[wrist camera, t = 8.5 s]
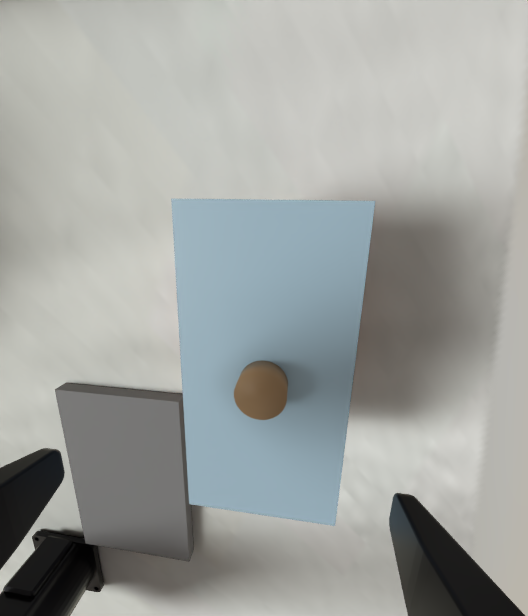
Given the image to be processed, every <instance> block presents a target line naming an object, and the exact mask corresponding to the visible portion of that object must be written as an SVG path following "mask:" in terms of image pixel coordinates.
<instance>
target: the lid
mask: <svg viewBox="0 0 528 616" xmlns="http://www.w3.org/2000/svg"><path fill="white" fill-rule="evenodd" d="M171 200H172V217H173V234H174V251H175V269H176V286H177V303H178V320H179V338H180V355H181V372H182V389H183V407H184V424H185V441H186V458H187V476H188V493H189V504H192V505H199V506H206V507H212V508H219V509H226V510H232V511H239V512H246V513H252V514H259V515H265V516H272V517H279V518H285V519H292V520H299V521H305V522H312V523H319V524H325V525H332V526H335V522H336V514H337V506H338V498H339V489H340V481H341V473H342V465H343V457H344V449H345V441H346V433H347V425H348V417H349V409H350V401H351V393H352V385H353V377H354V368H355V360H356V352H357V344H358V336H359V328H360V320H361V312H362V304H363V296H364V288H365V280H366V272H367V264H368V256H369V248H370V239H371V231H372V223H373V215H374V207H375V201H333V200H243V199H171Z"/></svg>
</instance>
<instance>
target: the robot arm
mask: <svg viewBox="0 0 528 616" xmlns="http://www.w3.org/2000/svg"><path fill="white" fill-rule="evenodd" d="M63 478H64V467H63V462H62V457H61V453H60V451H59V450H57V449H49V448H44V449H40V450H38V451H36V452H34V453H32V454H29V455H27V456H25V457H23V458H21V459H19V460H16V461H14V462H12V463H10V464H8V465H6V466H3V467H1V468H0V569H1V568H2V567H3V566H4V564H5V563H6V562H7V560H8V559H9V558H10V557H11V555H12V554H13V553H14V551H15V550H16V549H17V547H18V546H19V544H20V543H21V542H22V540H23V539H24V537H25V536H26V534H27V533H28V532H29V530H30V529H31V527H32V526H33V524H34V523H35V521H36V520H37V518H38V517H39V515H40V514H41V512H42V511H43V509H44V508H45V506H46V505H47V504H48V502H49V501H50V499H51V498H52V496H53V495H54V493H55V492H56V490H57V489H58V487H59V486H60V484H61V483H62V481H63ZM389 525H390V532H391V537H392V541H393V546H394V551H395V556H396V561H397V565H398V570H399V575H400V580H401V585H402V589H403V594H404V599H405V603H406V608H407V612H408V616H525V615H524V614H523V613H522V612H521V611H520V610H519V609H518V607H517V606H516V605H515V604H514V603H513V602H512V601H511V600H510V599H509V598H508V597H507V596H506V595H505V593H504V592H503V591H502V590H501V589H500V588H499V587H498V586H497V585H496V584H495V583H494V582H493V581H492V579H490V577H489V576H488V575H487V574H486V573H485V572H484V571H483V570H482V569H481V568H480V567H479V565H478V564H477V563H476V562H475V561H474V560H473V559H472V558H471V557H470V556H469V555H468V554H467V553H466V551H465V550H464V549H463V548H462V547H461V546H460V545H459V544H458V543H457V542H456V541H455V540H454V539H453V537H452V536H451V535H450V534H449V533H448V532H447V531H446V530H445V529H444V528H443V527H442V526H441V525H440V523H439V522H438V521H437V520H436V519H435V518H434V517H433V516H432V515H431V514H430V513H429V512H428V511H427V509H426V508H425V507H424V506H423V505H422V504H421V503H420V502H419V501H418V500H417V499H416V498H415V497H414V496H412V495H409V494H401V493H396V494H395V495H394V497H393V502H392V507H391V513H390V518H389ZM32 539H33V543H34V547H35V551H34V552H33V553H32V555H31V556H30V557H29V558H28V559H27V560H26V562H25V563H24V564H23V565H22V566H21V568H20V569H19V570H18V571H17V572H16V573H15V575H14V576H13V577H12V578H11V579H10V581H9V582H8V583H7V584H6V585H5V587H4V589H3V591H2V593H1V594H0V616H70V615H71V613H72V612H73V610H74V608H75V607H76V605H77V603H78V602H79V600H80V598H81V597H82V595H83V593H84V592H85V590H89V591H94V592H100V591H101V589H102V588H103V586H104V584H103V578H102V573H101V568H100V562H99V557H98V551H97V546H96V545H92V544H86V543H85V539H83V538H78V537H72V536H66V535H60V534H54V533H48V532H43V531H37V532H36V533H35V534H34V535H33V536H32Z"/></svg>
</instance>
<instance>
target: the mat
mask: <svg viewBox="0 0 528 616" xmlns="http://www.w3.org/2000/svg"><path fill="white" fill-rule="evenodd" d="M55 392H56V397H57V403H58V408H59V413H60V418H61V423H62V428H63V433H64V438H65V443H66V448H67V453H68V458H69V463H70V468H71V473H72V478H73V483H74V488H75V493H76V498H77V503H78V508H79V513H80V518H81V523H82V528H83V533H84V538H85V543H86V544H92V545H98V546H103V547H109V548H115V549H121V550H126V551H132V552H138V553H144V554H149V555H155V556H161V557H167V558H173V559H178V560H184V561H190V558H191V555H192V552H193V549H194V547H193V531H192V515H191V504H189V493H188V476H187V458H186V441H185V424H184V407H183V394H175V393H165V392H155V391H144V390H134V389H124V388H113V387H103V386H93V385H82V384H72V383H65V384H63V385H62V386H60V387H58V388H57V389H55Z"/></svg>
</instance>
